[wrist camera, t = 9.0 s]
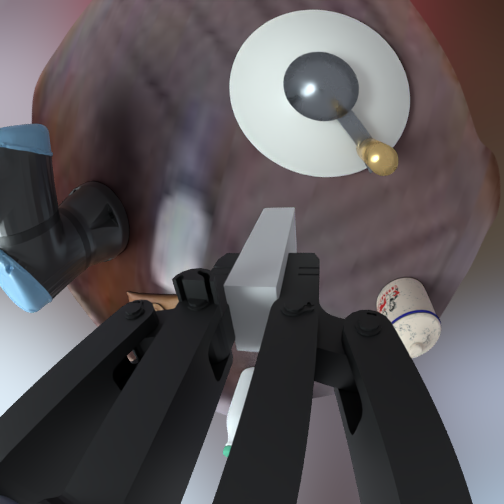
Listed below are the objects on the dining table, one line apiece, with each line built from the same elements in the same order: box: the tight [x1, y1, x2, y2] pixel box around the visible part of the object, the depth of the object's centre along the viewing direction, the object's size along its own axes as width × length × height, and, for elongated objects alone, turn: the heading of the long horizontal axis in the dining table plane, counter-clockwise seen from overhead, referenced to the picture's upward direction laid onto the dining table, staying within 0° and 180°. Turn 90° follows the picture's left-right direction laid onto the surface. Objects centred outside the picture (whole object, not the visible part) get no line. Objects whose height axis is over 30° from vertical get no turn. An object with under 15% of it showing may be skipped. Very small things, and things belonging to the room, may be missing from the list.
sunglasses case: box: [127, 292, 179, 311], centre depth 51 cm, size 18×7×7 cm, turn 103°
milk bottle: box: [223, 367, 255, 457], centre depth 47 cm, size 8×8×20 cm
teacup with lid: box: [377, 278, 441, 358], centre depth 35 cm, size 12×9×12 cm
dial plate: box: [229, 10, 410, 177], centre depth 28 cm, size 22×22×2 cm
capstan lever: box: [283, 52, 398, 176], centre depth 24 cm, size 14×8×8 cm, turn 43°
